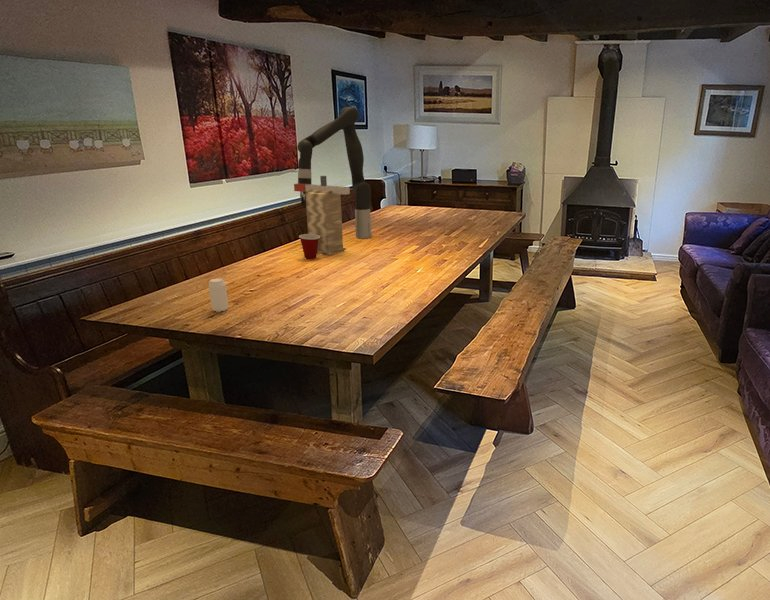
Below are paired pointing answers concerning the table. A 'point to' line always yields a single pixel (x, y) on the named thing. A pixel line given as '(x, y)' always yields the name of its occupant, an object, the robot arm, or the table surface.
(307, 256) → the plastic cup
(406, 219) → the table surface
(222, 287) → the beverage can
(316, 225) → the stand
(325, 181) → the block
